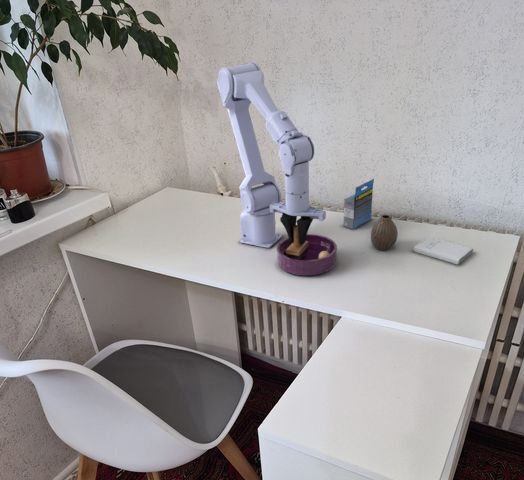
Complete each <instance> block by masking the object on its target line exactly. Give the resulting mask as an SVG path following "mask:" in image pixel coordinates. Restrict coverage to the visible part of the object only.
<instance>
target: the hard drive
mask: <svg viewBox="0 0 524 480" xmlns="http://www.w3.org/2000/svg"><path fill="white" fill-rule="evenodd" d="M412 252H414V253H417V254H421V255H424V256H426V257H431V258H435V259H437V260H441V261H443V262H447V263H451V264H453V265H456V266H457V265H460V264H461V263H463V262H464V261H465V260H466V259H467V258H469V257H470V256H471V255H472V254H473V252H474V248H473V247H470V246H467V245H462V244H459V243H455V242H451V241H447V240H443V239H440V238H436V237H434V236H433V237H432V236H427V237H425V238H424V239H422V240H421V241H420V242H418V243H417V244H415V245H414V247H413V250H412Z"/></svg>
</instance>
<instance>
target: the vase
mask: <svg viewBox="0 0 524 480" xmlns="http://www.w3.org/2000/svg"><path fill="white" fill-rule="evenodd" d="M398 235H399V231H398V227H397V225H396V223H395V222H394V221H393V219H392V216H391V215H390V214H382V215H381V216H380V217H379V219H378V220H377V221H376V222H375V223H374V225H373V226H372V229H371V230H370V241H371V244H372V246H373V247H374V248H375V249H376V250H378V251H389V250H390V249H392V248H393V247H394V246H395V245H396V242H397V240H398Z"/></svg>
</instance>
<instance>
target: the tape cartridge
mask: <svg viewBox="0 0 524 480" xmlns="http://www.w3.org/2000/svg"><path fill="white" fill-rule="evenodd" d="M374 181H375V178H373V179H370V180H369V181H366V182H365V183H362V184H360V185H358V186H356V187H355V189H354V194H352V195H350V196H348V197H346V198H344V201H343V202H344V203H343V204H344V205H343V227H344V228H347V229H351V230H355V229H357V228H358V227H359V226H362V225H363V224H365V223H366V222H368V221H370V220H372V208H373V191H374V190H373V189H374V183H375V182H374Z"/></svg>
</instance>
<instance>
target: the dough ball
mask: <svg viewBox="0 0 524 480" xmlns="http://www.w3.org/2000/svg"><path fill="white" fill-rule="evenodd" d="M328 255H329V253H328V252H327V251H322V252H321V253H320V254H319V256H318V258H319V259H320V258H323V257H326V256H328Z"/></svg>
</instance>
